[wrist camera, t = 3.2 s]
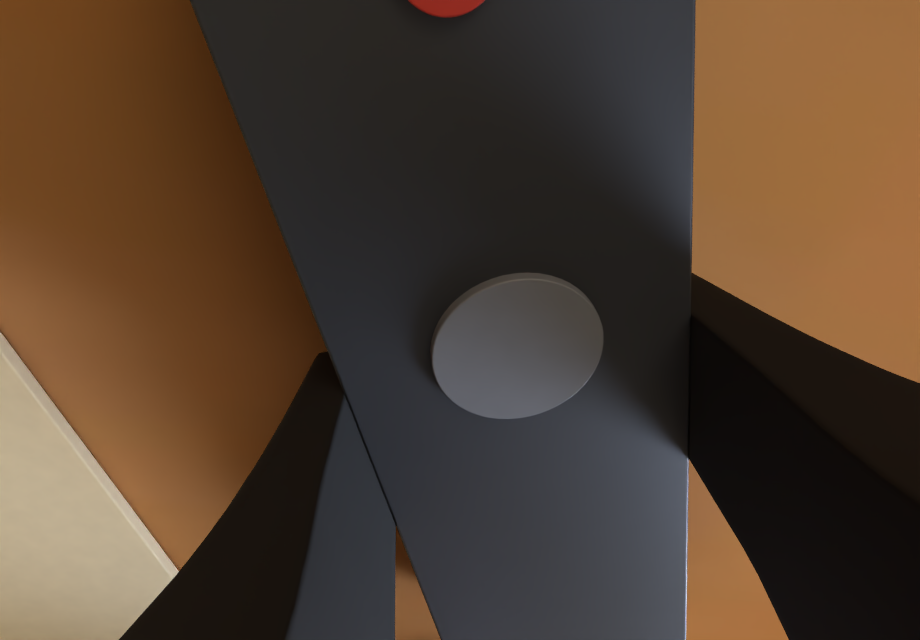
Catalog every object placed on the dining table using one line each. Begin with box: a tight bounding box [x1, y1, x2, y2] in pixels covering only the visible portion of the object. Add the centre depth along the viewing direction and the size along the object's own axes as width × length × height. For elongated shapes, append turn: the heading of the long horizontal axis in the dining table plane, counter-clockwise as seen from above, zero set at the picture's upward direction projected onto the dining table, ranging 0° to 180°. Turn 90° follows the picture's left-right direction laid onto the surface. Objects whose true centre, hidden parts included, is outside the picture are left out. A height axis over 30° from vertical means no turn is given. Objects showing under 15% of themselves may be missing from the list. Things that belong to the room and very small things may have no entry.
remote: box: [190, 0, 695, 640], centre depth 10 cm, size 16×5×3 cm, turn 11°
